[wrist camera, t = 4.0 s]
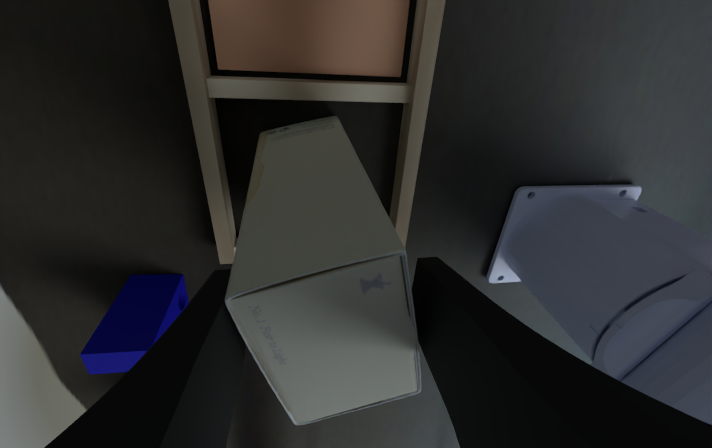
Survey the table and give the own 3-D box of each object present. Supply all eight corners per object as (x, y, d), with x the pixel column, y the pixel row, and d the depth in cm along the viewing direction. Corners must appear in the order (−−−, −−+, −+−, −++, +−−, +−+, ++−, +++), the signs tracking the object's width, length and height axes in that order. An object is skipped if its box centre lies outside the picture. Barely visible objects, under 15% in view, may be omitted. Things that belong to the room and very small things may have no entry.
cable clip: (225, 383, 28) (210, 465, 22) (166, 388, 27) (136, 474, 22) (208, 271, 21) (183, 348, 16) (132, 273, 21) (79, 354, 16)
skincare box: (258, 130, 17) (206, 291, 7) (341, 112, 17) (409, 242, 7) (291, 228, 21) (289, 433, 10) (360, 212, 21) (425, 398, 11)
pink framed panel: (459, -178, 12) (478, -200, 11) (397, 241, 22) (404, 254, 21) (136, -236, 11) (115, -270, 9) (224, 249, 21) (220, 264, 19)
